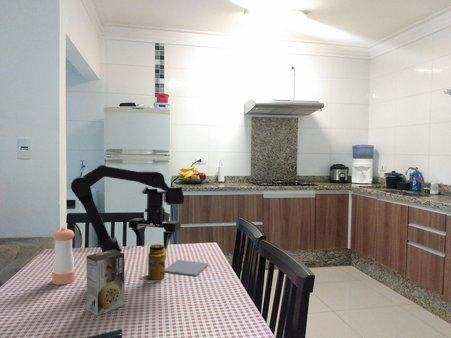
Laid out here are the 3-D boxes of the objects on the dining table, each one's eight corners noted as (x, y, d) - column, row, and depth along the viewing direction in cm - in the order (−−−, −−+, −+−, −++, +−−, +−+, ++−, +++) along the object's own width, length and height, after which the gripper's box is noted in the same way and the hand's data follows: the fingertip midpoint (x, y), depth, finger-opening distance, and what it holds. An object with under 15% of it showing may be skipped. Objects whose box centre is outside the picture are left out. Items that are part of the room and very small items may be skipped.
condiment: (169, 278, 125) (169, 246, 125) (149, 283, 119) (149, 250, 119) (158, 273, 130) (158, 242, 130) (138, 278, 124) (139, 246, 124)
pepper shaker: (65, 285, 116) (65, 230, 115) (47, 283, 118) (47, 229, 117) (79, 278, 123) (79, 226, 122) (61, 276, 125) (61, 225, 124)
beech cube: (165, 260, 146) (165, 249, 146) (153, 260, 146) (153, 249, 145) (166, 256, 151) (166, 245, 151) (155, 256, 151) (155, 245, 150)
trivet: (196, 276, 127) (196, 274, 127) (162, 271, 131) (162, 270, 131) (208, 264, 141) (208, 263, 141) (177, 261, 145) (177, 259, 145)
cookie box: (113, 299, 106) (113, 248, 105) (125, 305, 102) (125, 252, 101) (85, 309, 99) (85, 255, 98) (97, 316, 95) (97, 259, 94)
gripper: (187, 204, 129) (186, 244, 129) (143, 201, 134) (143, 240, 135) (174, 208, 118) (173, 252, 119) (127, 205, 123) (127, 247, 124)
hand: (154, 247), depth 124 cm, fingers open, 9 cm apart
